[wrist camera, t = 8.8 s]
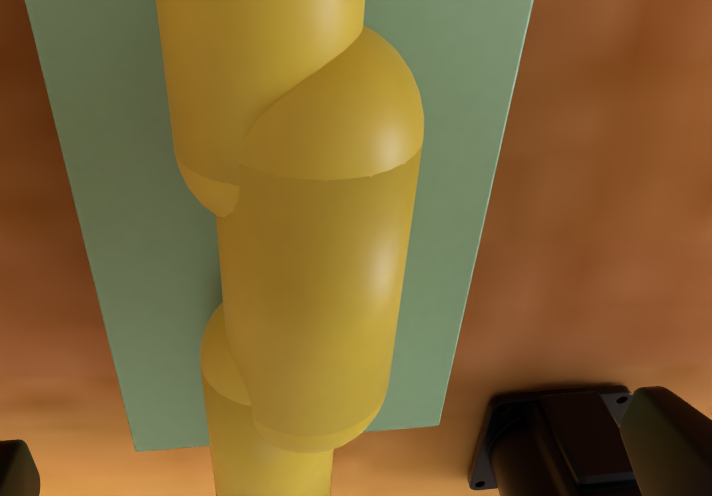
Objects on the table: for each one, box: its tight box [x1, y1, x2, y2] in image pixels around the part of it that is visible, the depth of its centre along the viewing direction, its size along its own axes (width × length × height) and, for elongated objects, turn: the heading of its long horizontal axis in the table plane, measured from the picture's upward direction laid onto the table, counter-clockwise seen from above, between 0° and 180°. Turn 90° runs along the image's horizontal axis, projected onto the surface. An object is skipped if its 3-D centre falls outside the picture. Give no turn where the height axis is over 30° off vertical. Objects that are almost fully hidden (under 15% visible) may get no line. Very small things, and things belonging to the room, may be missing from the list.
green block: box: [25, 0, 534, 452], centre depth 16 cm, size 16×9×5 cm, turn 176°
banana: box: [156, 0, 424, 496], centre depth 12 cm, size 19×4×4 cm, turn 176°
